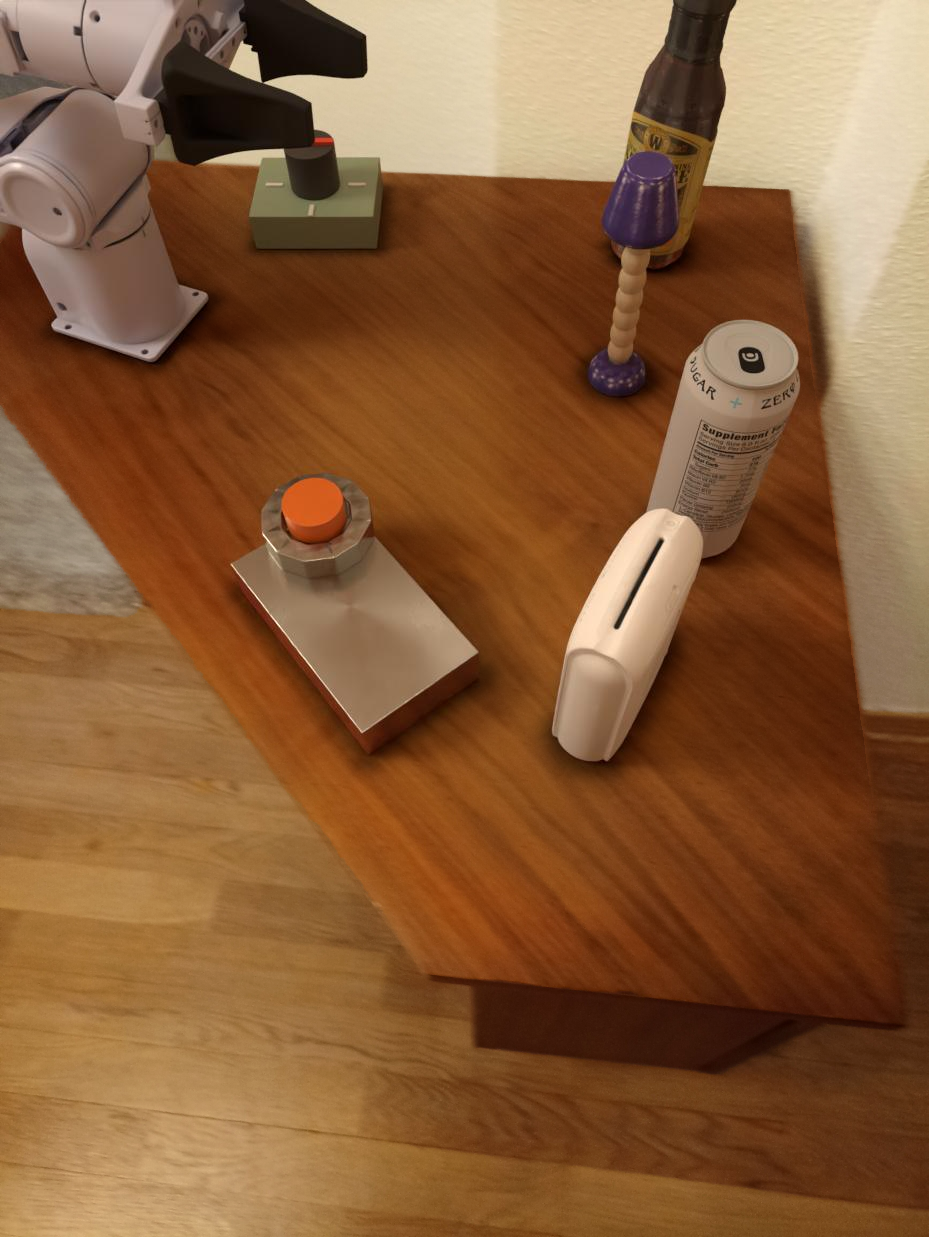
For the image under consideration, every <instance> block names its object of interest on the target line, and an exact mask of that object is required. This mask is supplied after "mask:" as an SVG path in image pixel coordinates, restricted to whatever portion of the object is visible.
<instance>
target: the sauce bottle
mask: <svg viewBox="0 0 929 1237" xmlns="http://www.w3.org/2000/svg"><path fill="white" fill-rule="evenodd" d="M737 1H738V0H672V4H673V5H672V7H671V13H670V19H669V22H668V28H667V33H666V35H665V37H664V42H663V43H664V44H663V45H662V47H661V48H660V50H659V51H658V52H657V54H656V56H655V57H654V59H653V60H652V61H651V63H649V65H648V67H647V69H646V70H645V72H644V75H643V79H642V81H641V85H640V88H639V91H638V94H637V98H636V100H635V105H634V107H633V111H632V116H631V120H630V126H629V130H628V136H627V141H626V146H625V153H624V157H623V162H622V165H623V164H624V163H625V161H626V160H627V159H628V158H629V157H630V156H632V155H633V154H635V153H638V152H642V151H654V152H659V153H662V154H664V155H665V156H667V157H668V158H669V159H670V160H671V161H672V163H673V164H674V167H675V172H676V181H677V193H678V206H679V226H678V230H677V232H676V234H675V235H674V237H673V238H672V239H671V240H670V241H668V242H667V243H666V244H664V245H662V246H659V247H656V248H653V249H649V251H650V261H649V264H648V266H647V268H646V269H650V270H661V269H664V268H665V267H667V266H668V265H672V263H675V262H676V261H677V260H678V259H679V258H681V256H682V254H683V251H684V248H685V246H686V244H687V242H688V241H689V238H690V236H691V231H692V228H693V227H692V226H693V224H694V219H695V217H696V212H697V209H698V205H699V201H700V198H701V194H702V190H703V186H704V183H705V180H706V176H707V173H708V167H709V165H710V162H711V158H712V154H713V151H714V147H715V143H716V140H717V136H718V132H719V130H718V129H719V123H720V120H721V116H722V112H723V110H724V107H725V105H726V104H725V103H726V97H727V85H726V81H725V80H726V79H725V76H724V72H723V71H724V70H723V68H722V65H721V56H722V52H723V49H724V39H725V36H726V30H727V27H728V25H729V24H728V23H729V20H730V14H731V12H732V11H733V9H734V8H735V7H736V5H737ZM610 244H611V249H612V251H613V252H614V254H615V255H616V257H618V259H620V260H621V258H622V253H623V251H624V249H625V247H624V246H621V245H619V244H617V243H616V242H614V241H612V240H611V239H610Z"/></svg>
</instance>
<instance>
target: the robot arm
mask: <svg viewBox="0 0 929 1237" xmlns="http://www.w3.org/2000/svg"><path fill="white" fill-rule="evenodd" d="M367 43H368V42H367V35H366V34H365V33H363V32H362V31H360V30H358V29H356V28H355V27H353V26H351V25H349V24H348V23H346V22H344V21H342V20H340V19H339V18H336V17H334V16H333V15H331V14H329V13H327V12H326V11H323V10H322V9H320V8H319V7H317V6H315V5H313V3H310V2H309V1H308V0H0V75H4V76H9V77H12V78H17V77H18V76H19V75H20V74H21V75H25V76H29V77H34V78H36V79H37V78H38V79H43V80H46V81H50V82H55V83H59V84H64V85H67V86H71V87H67V88H59V87H57V88H56V87H51V86H41V87H38V88H34V89H31V90H28V91H27V90H26V91H25V92H21V93H18V94H15V95H12V96H7V97H5V98H1V99H0V223H3V224H7V225H10V226H11V225H12V226H16V227H18V228H21V239H22V240H21V241H22V246H23V249H24V254H25V256H26V258H27V261H28V262H29V264H30V266H31V268H32V270H33V273H34V274H35V276H36V278H37V280H38V282H39V284H40V286H41V288H42V290H43V292H44V294H45V296H46V297H47V299H48V302H49V304H50V305H51V308H52V309H53V311H54V313H55V315H56V318H55V319H54V320H53V321H52V322H51V328H52V330H53V331H54V332H56V333H59V334H62V335H65V336H69V337H71V338H74V339H78V340H80V341H84V342H87V343H89V344H93V345H96V346H99V347H102V348H104V349H108V350H111V351H113V352H114V351H115V352H117V353H121V354H124V355H126V356H130V357H132V358H136V359H139V360H142V361H145V362H147V363H155V362H156V361H157V360H158V359H159V358H160V357H161V356H162V355H163V354H164V353H165V351H166V350H167V349H168V348H169V347H170V345H171V344H173V342H174V341H175V339H176V338H177V337H178V336H179V335H180V334H181V333H182V331H183V330H184V329H185V328H186V327H187V326H188V324H190V322H191V321H192V320H193V318H194V317H195V316H196V315H197V314H198V313H199V312H200V311H201V310H202V308H203V307H204V306H205V305H206V304H207V302H208V301H209V295H208V293H206V292H205V291H202V290H200V289H199V290H198V289H196V288H191V287H188V286H185V285H183V284H179V282H178V279H177V277H176V273H175V270H174V268H173V265H172V262H171V259H170V256H169V254H168V250H167V247H166V245H165V242H164V239H163V236H162V233H161V231H160V227H159V225H158V222H157V219H156V216H155V213H154V210H153V208H152V205H151V203H150V202H151V201H150V199H149V193H150V191H151V190H152V187H151V184H150V181H149V179H148V176H147V173H146V172H147V171H148V170H149V169H150V167H151V166H152V165H153V162H154V159H155V151H156V150H155V148H157V147H158V146H159V145H160V144H161V143H162V142H163V141H164V140H165V138H166V135H169V136H170V140H171V145H172V148H173V152H174V155H175V158H176V160H177V161H178V162H179V163H180V164H184V165H188V166H192V167H197V166H198V165H200V164H202V163H205V162H208V161H210V160H213V159H216V158H220V157H224V156H228V155H232V154H237V153H244V152H251V151H266V150H284V149H294V148H307V147H311V146H312V145H313V143H314V142H315V134H314V130H315V125H314V115H313V105H312V102H311V101H309V100H307V99H306V98H303V97H302V96H300V95H298V94H296V93H293V92H291V91H288V90H285V89H282V88H280V87H277V86H275V85H274V86H273V85H271V84H267V83H266V82H270V81H273V80H277V79H280V78H285V77H294V76H317V77H326V78H335V79H343V80H344V79H345V80H346V79H347V80H350V79H353V80H354V79H361V78H365V76H366V75H367V74H368V69H369V65H368V44H367ZM241 44H243V45H246V46H251V47H250V51H251V52H253V53H256V54H257V60H258V67H259V75H260V81H261V82H260V81H258V80H254V79H252V78H250V77H246V76H245V75H242V74H240V73H237V72H235V71H233V70H231V69H230V68H231V67H232V64H233V62H234V59H235V57H236V54H237V52H238V50H239V47H240V45H241Z"/></svg>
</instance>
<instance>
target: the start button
mask: <svg viewBox="0 0 929 1237" xmlns="http://www.w3.org/2000/svg"><path fill="white" fill-rule="evenodd" d="M281 506H282V511H283V514H284V517H285V521H286V524H287V527H288V528H287V530H289V532H290V533H291V534H292V535H293V536H294V537H295V538H296V539H298V540H300V541H302V542H305V543H310V544H319V543H324V542H327V541H329V540H331V539H333V538H335V537H336V536H337V535H339V534H340V533H341V531H342V530H343V529H344V527H345V525H346V521H347V513H346V508H345V504H344V499H343V495H342V492H341V490H340V489H339V487H338V486H337V485H336V484H334V483H333V482H331V481H329V480H326V479H322V478H308V479H304V480H301V481H299V482H297V483H295V484H294V485H292V486H291V487H290V488H289V489H288V490H287V491H286V492H285V494H284V496H283V499H282V505H281Z"/></svg>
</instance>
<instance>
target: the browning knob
mask: <svg viewBox="0 0 929 1237" xmlns="http://www.w3.org/2000/svg"><path fill="white" fill-rule="evenodd" d="M314 134H315V142H314V143H313V145H312V146H311V147H307V148H294V149H283V154H284V158H285V159H286V164H287V169H288V174H289V179H290V184H291V189H292V191H293V192H294V194H295V195H297V196H298V197H300V198H303V199H308V200H318V199H323V198H327V197H329V196H331V195H333V194H334V193H335V192H336V191H337V190H338V188H339V186H340V179H339V172H338V165H337V158H336V157H337V152H336V146H335V145H336V144H335V140H334V137H333V136H332V135H331V134H330V133H328V132H327V131H324V130H320V129H314Z"/></svg>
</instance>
